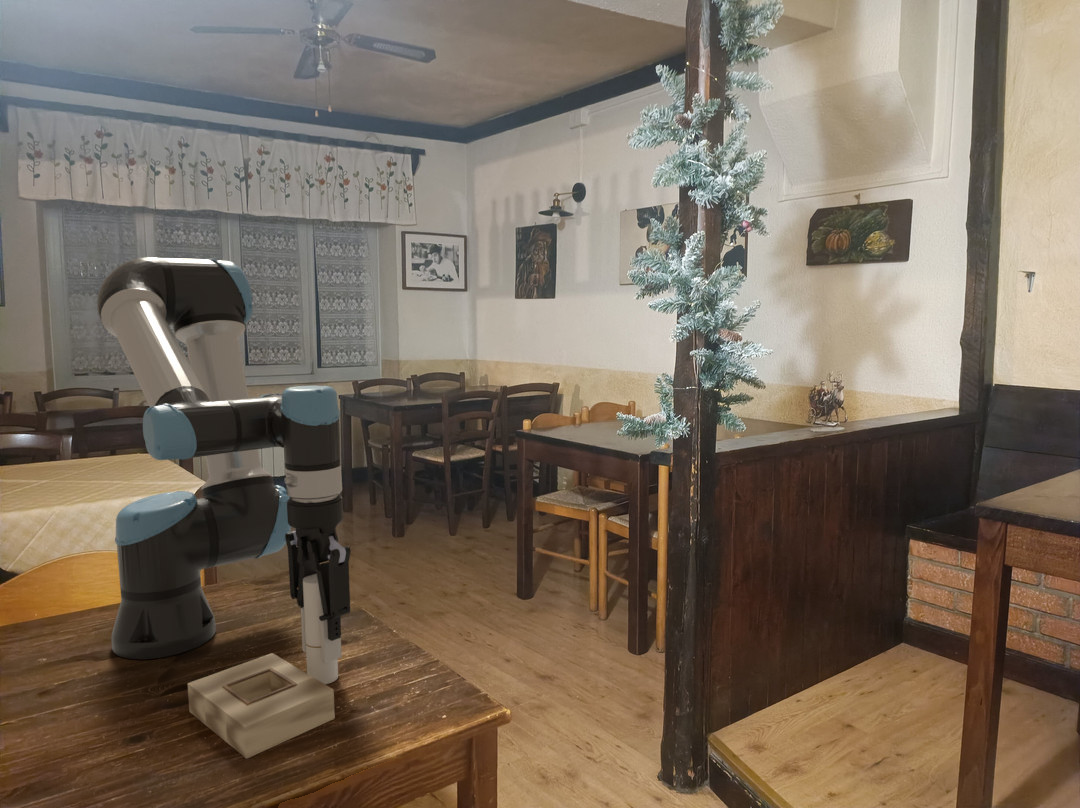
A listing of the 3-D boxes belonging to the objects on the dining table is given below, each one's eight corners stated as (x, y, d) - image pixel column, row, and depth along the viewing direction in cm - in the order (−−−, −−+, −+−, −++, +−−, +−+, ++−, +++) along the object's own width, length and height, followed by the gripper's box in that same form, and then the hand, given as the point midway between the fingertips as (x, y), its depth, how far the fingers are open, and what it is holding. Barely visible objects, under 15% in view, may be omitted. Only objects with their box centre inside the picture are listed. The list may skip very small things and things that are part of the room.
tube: (329, 686, 107) (325, 584, 106) (302, 683, 108) (297, 582, 106) (343, 672, 111) (339, 574, 110) (316, 669, 112) (312, 572, 111)
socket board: (189, 711, 101) (187, 681, 100) (273, 679, 110) (272, 651, 109) (246, 758, 90) (244, 725, 89) (334, 718, 99) (333, 687, 98)
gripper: (259, 491, 110) (267, 644, 113) (325, 512, 98) (332, 683, 101) (305, 482, 115) (312, 629, 118) (373, 501, 103) (379, 663, 106)
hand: (321, 653), depth 109 cm, fingers open, 4 cm apart
